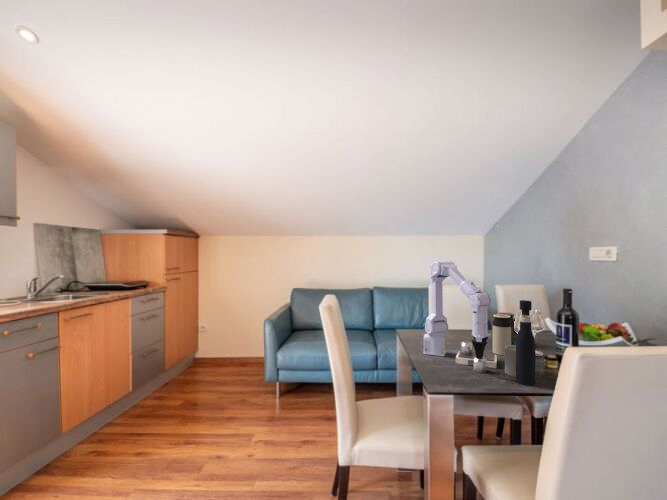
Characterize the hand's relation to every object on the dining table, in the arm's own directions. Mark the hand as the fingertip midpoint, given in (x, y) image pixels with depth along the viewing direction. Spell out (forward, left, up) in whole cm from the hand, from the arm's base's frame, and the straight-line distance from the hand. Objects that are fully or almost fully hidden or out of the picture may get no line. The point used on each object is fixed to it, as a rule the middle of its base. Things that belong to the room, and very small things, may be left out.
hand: (480, 356), depth 146 cm
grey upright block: (+14, +5, -6) cm, 16 cm away
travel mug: (+8, +32, -6) cm, 34 cm away
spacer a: (-6, +12, -3) cm, 14 cm away
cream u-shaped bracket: (-2, +12, -6) cm, 14 cm away
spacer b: (0, 0, -6) cm, 6 cm away
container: (+10, +52, -6) cm, 53 cm away
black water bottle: (+16, -7, -6) cm, 18 cm away
